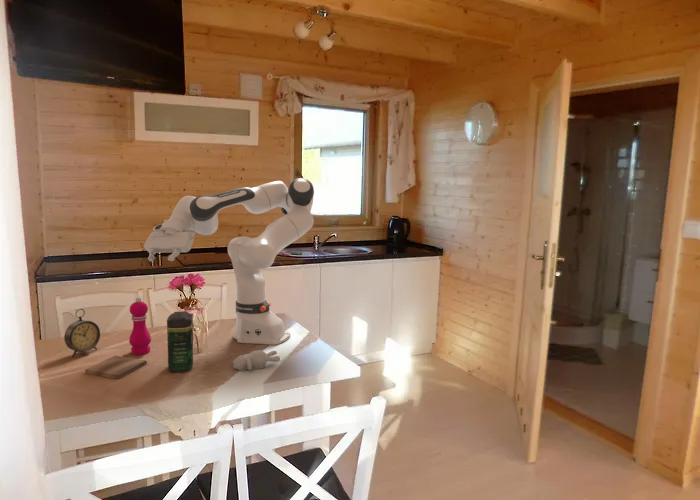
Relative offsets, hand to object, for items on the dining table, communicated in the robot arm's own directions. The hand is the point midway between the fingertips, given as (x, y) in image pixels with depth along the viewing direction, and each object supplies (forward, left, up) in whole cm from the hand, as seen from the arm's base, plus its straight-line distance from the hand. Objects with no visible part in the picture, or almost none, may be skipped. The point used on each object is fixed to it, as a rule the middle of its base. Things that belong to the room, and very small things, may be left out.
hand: (160, 260), depth 188 cm
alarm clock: (+18, +20, -32) cm, 42 cm away
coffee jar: (-22, +19, -32) cm, 43 cm away
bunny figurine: (-45, +10, -32) cm, 56 cm away
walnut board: (-3, +27, -31) cm, 42 cm away
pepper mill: (0, +12, -32) cm, 34 cm away
